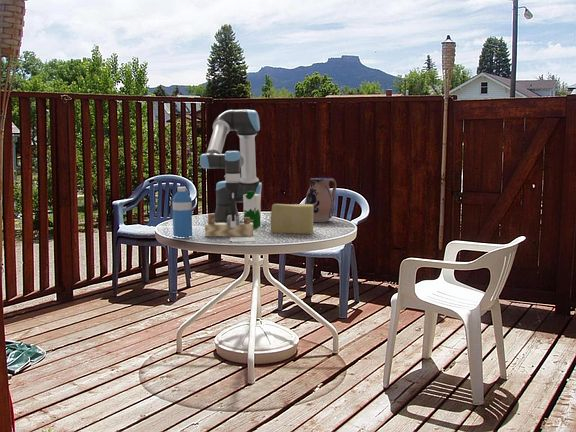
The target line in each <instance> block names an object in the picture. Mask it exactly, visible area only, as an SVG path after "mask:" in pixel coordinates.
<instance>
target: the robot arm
mask: <svg viewBox="0 0 576 432" xmlns="http://www.w3.org/2000/svg"><path fill="white" fill-rule="evenodd" d="M260 128H261V124H260V117H259V114H258V112H257V111H256V110H255V109H227V110H225V111H224V112H221V113H220V114H218V116H217V117H216V118H215V120H214V121H213V124H212V134H211V137H210V140H209V143H208V147H207V149H206V150H207V151H206V153H202V154H201V155H200V156H199V157H200V158H199V164H200V167H201V168H202V169H209V170H210V169H214V170H215V169H222V170H223V169H224V173H225V175H224V176H223V177H224V179H225V180H221V181H218V182H217V183H216V186H215V187H216V188H215V196H216V197H215V198H216V201H215V202H216V203H215V204H216V207H215V210H214V212H213V214H214V222H215V221H216V222H227V216H228V215H230V224H231V228H234V227H236V216H239V217H240V214H239V211H238V208H237V203H244V202H243V195H245V194H247V191H254V194H261V195H262V190H263V189H262V188H263V183H262V182H260V179H259V177H257V167H256V166H257V165H256V161H257V160H256V141H255V138H256V136H257V135H258V132H259V131H260V130H261V129H260ZM231 131H232V132H233V131H235V132H236V135H237V136H238V138H239V150H227V151H225V153H222V152H223V148H224V146H225V141H226V138H227V135H228V134H229V132H231Z"/></svg>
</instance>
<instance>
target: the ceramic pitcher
mask: <svg viewBox="0 0 576 432" xmlns="http://www.w3.org/2000/svg"><path fill="white" fill-rule="evenodd" d="M309 180H310V184H309V188H308V190H307V192H306V197H305V200H304V204H313V206H314V211H313V223H326V222H328V221H329V220H330V219H332V218H333V216H334V213H335V202H334V198H335V195H336V191H337V182H336V180H335V179H334V178H333V177H315V178H313V177H311V178H310V179H309ZM330 182H331V183H332V191H331V189H330Z"/></svg>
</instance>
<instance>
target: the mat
mask: <svg viewBox="0 0 576 432" xmlns="http://www.w3.org/2000/svg"><path fill="white" fill-rule="evenodd" d="M230 241H232V242H231V243H256V239H255V236H229V242H230Z"/></svg>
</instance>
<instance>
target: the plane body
mask: <svg viewBox="0 0 576 432" xmlns="http://www.w3.org/2000/svg"><path fill="white" fill-rule="evenodd" d="M204 227H205V229H204V234H205V235H204V237H205V236H223V237H254V228H253V223H250V217H244V216H243V222H239V225H236V227H234V228H231V225H227V222H215V220H214V213H208V214H207V222H205V223H204Z"/></svg>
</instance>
